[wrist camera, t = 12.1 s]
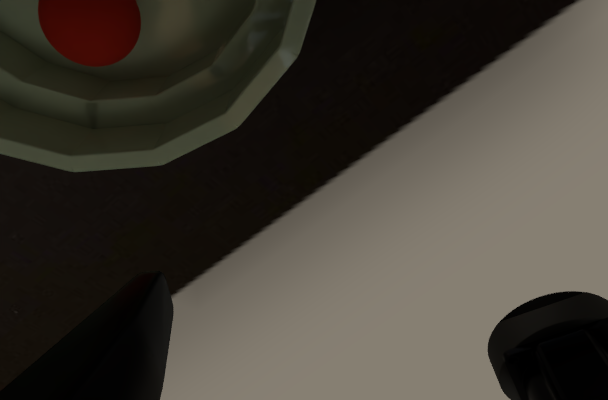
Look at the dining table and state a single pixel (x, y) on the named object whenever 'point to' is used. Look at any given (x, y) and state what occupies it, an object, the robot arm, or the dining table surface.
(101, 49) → the ball
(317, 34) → the dining table surface
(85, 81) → the bowl
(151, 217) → the dining table surface
